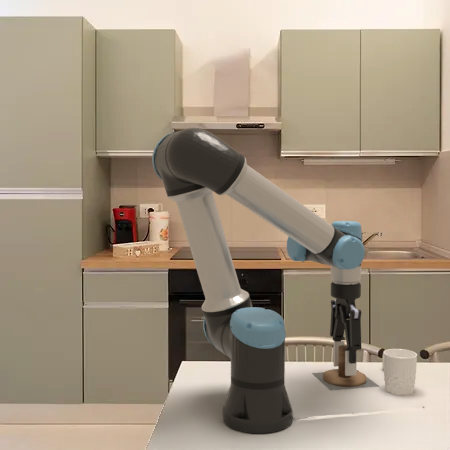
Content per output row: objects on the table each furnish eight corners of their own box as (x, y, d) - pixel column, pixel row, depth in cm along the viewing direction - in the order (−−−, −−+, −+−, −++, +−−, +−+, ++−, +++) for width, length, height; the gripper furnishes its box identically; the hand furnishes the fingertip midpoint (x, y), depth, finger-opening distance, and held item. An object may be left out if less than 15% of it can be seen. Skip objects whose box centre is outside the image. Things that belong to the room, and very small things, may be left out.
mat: (330, 393, 143) (330, 390, 143) (311, 376, 156) (311, 373, 156) (379, 389, 146) (379, 386, 146) (357, 372, 158) (357, 369, 158)
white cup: (412, 388, 146) (413, 349, 146) (419, 399, 139) (420, 358, 138) (380, 387, 147) (380, 348, 147) (385, 398, 139) (386, 357, 139)
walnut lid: (332, 388, 144) (333, 354, 143) (316, 374, 155) (316, 342, 154) (373, 385, 146) (374, 351, 146) (355, 371, 157) (355, 340, 156)
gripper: (377, 288, 140) (375, 382, 142) (343, 275, 159) (342, 358, 161) (348, 289, 138) (346, 384, 140) (317, 276, 158) (316, 359, 159)
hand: (344, 370), depth 150 cm, fingers open, 7 cm apart
